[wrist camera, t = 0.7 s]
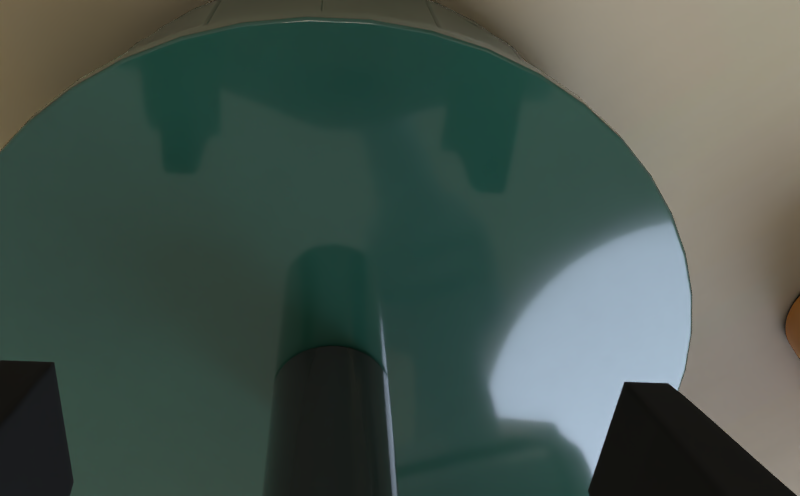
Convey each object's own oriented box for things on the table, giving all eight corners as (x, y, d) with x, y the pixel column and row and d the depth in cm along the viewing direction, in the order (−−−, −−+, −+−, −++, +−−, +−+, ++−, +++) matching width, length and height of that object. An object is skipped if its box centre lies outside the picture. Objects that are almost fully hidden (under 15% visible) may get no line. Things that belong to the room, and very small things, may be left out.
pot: (589, -67, 16) (680, -23, 12) (590, 404, 24) (647, 536, 19) (-41, 34, 16) (-173, 113, 12) (155, 471, 24) (116, 618, 19)
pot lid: (697, -65, 12) (897, 4, 8) (657, 526, 20) (745, 724, 16) (-197, 77, 12) (-487, 224, 8) (109, 610, 20) (47, 831, 16)
